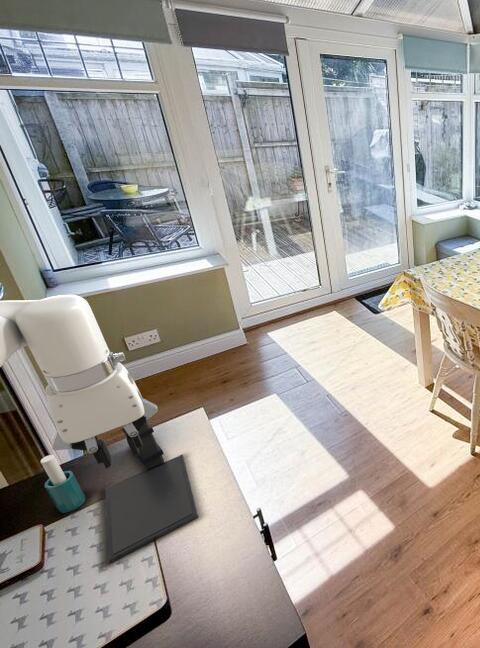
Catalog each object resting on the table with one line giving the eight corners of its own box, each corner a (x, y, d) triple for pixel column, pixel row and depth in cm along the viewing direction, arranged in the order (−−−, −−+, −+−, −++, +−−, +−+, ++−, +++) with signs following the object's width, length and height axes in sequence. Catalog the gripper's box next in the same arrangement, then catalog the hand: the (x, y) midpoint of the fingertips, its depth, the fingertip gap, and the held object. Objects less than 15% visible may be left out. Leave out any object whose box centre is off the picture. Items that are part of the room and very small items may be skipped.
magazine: (148, 475, 87) (117, 412, 85) (139, 465, 95) (110, 408, 93) (170, 463, 90) (140, 402, 88) (158, 455, 98) (131, 399, 96)
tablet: (109, 563, 73) (107, 560, 72) (106, 491, 85) (104, 487, 85) (198, 517, 81) (197, 513, 80) (183, 457, 93) (182, 454, 93)
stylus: (65, 508, 81) (39, 464, 76) (65, 501, 82) (40, 458, 77) (78, 502, 82) (53, 459, 77) (78, 496, 83) (54, 453, 78)
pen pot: (58, 516, 80) (43, 491, 77) (59, 503, 82) (45, 478, 80) (85, 504, 82) (72, 480, 79) (85, 492, 85) (72, 467, 82)
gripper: (146, 342, 72) (177, 421, 80) (7, 382, 62) (57, 469, 69) (151, 361, 67) (183, 444, 75) (0, 409, 57) (55, 499, 64)
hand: (122, 455), depth 72 cm, fingers open, 3 cm apart
